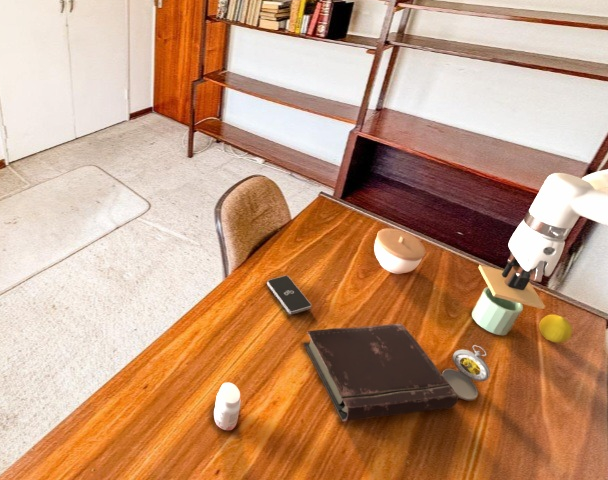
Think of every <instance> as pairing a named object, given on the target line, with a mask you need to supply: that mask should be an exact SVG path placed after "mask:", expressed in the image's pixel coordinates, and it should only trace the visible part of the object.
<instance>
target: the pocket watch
mask: <svg viewBox="0 0 608 480" xmlns="http://www.w3.org/2000/svg"><path fill="white" fill-rule="evenodd" d="M475 347H477V348H480V349H481V350H482V351H483V352H484V354H482V353H481V350H476V349H475ZM472 350H473V351H474V352H473V351H471V350H468V349H458V350H456V351H454V353H453V354H452V362H453V364H454V366H455V367H456V368H457V370H456V369H453V368H445V369H444V370H442V372H441V374H442V375H443V377H444V378H445V379H446V380H447V382H448V383H449V384H450V386H451V387H452V388H453V389H454V391H455V392H456V393H457V394H458V399H462V400H465V401H474V400H476V399H477V398H478V396H479V391H478V388H477V386H476V384H475V382H481V383H482V382H486V381H487V380H489V378H490V375H491V372H490V371H491V370H490V367H489V365H488V363H487V362H486V361H485V360H484V359H483V358H482V357H486V356H488V353H487V351H486V350H485V349H484V348H483V347H481V345H480V346H479V345H477V344H473V345H472ZM481 356H482V357H481ZM472 380H473V381H472ZM474 381H475V382H474Z"/></svg>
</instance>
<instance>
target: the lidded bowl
mask: <svg viewBox="0 0 608 480" xmlns="http://www.w3.org/2000/svg"><path fill="white" fill-rule="evenodd" d="M373 250H374V255H375V258H376V260H377V261H378V263H379V265H380V266H381V267H382V268H383V269H384V270H386V271H387V272H389V273H392V274H396V275H401V274H406V273H410V272H412V271H414V270H415V269H416V268H418V266H419V265H420V263H421V262H422V260H423V258H424V257H425V255H426V248H425V246H424V244H423V243H422V242H421V241H420V240H419V239H418V238H417V237H415V236H414V235H412V234H411V233H409V232H406V231H403V230H401V229H397V228H391V227H388V228H387V227H386V228H382V229H379V231H378V232H377V235H376V237H375V241H374V248H373Z"/></svg>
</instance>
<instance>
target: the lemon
mask: <svg viewBox="0 0 608 480" xmlns="http://www.w3.org/2000/svg"><path fill="white" fill-rule="evenodd" d="M538 330H539V333H540V334H541V335H542V337H544V338H545V340H546V341H549V342H552V343H555V344H562V343H563V344H564V343H565V342H567V341H568V340H569V339H570V338H571V337H572V334H573V328H572V325H571V323H570V322H569V321H568V320H567V319H566V318H565V317H563V316H561V315H558V314H547V315H546V316H544V317H543V318H542V319H540V321H539V323H538Z"/></svg>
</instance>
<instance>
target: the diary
mask: <svg viewBox="0 0 608 480" xmlns="http://www.w3.org/2000/svg"><path fill="white" fill-rule="evenodd" d="M306 333H307V335H308V337H309V339H310V341H309V342H303V343H302V344H303V346H304V348H305V350H306V352H307V354H308V357H309V358H310V360H311V362H312V364H313V366H314V368H315V370H316V372H317V374H318V376H319V378H320V380H321V382H322V384H323V386H324V388H325V390H326V392H327V394H328V396H329V398H330V399H331V401H332V404H333V406H334V408H335V410H336V411H337V413H338V416H339V417H340V420H341V421H342V422H350V421H358V420H362V419H369V418H378V417H386V416H387V417H388V416H389V417H390V416H397V415H406V414H411V413H417V412H423V411H433V410H445V409H452V408H454V407H455V406H456V404H457V403H458V400H459V397H458V394H457V393H456V392H455V391H454V389H453V388H452V387H451V386H450V384H449V383H448V382H447V380H446V379H445V378H444V377H443V375H442V372H441V371H440V369H438V367H437V366H436V364H435V363H434V362H433V360H432V359H431V357H430V356H429V355H428V354H427V352H426V351H425V350H424V349H423V348H422V346H421V344H419V342H418V341H417V340H416V339H415V337H414V336H413V335H412V334H411V333H410V331H409V330H408V329H407V328H406V327H405V326H404V324H403V323H390V324H389V323H388V324H379V325H367V326H357V327H339V328H337V327H336V328H335V327H334V328H324V329H315V330H314V329H313V330H306Z"/></svg>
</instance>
